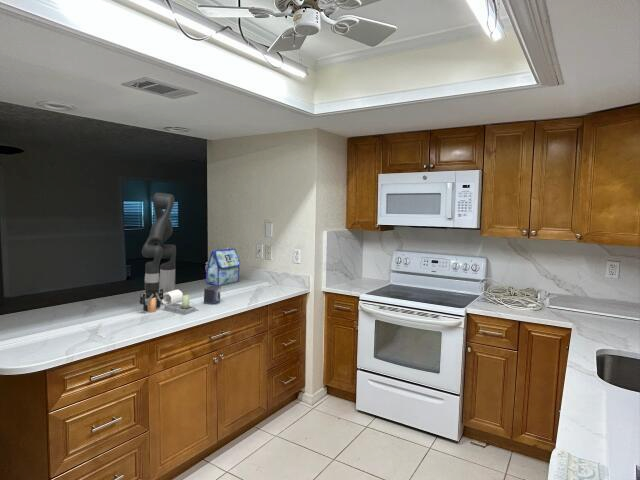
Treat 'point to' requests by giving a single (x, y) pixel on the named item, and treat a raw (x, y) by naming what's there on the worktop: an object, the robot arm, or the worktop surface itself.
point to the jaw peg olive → (185, 301)
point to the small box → (212, 295)
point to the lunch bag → (223, 267)
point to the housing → (178, 309)
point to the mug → (172, 297)
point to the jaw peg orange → (152, 305)
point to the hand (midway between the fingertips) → (151, 309)
